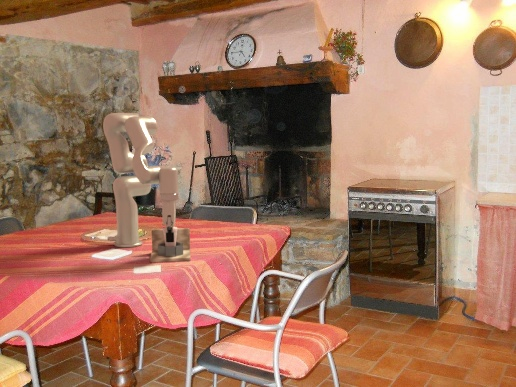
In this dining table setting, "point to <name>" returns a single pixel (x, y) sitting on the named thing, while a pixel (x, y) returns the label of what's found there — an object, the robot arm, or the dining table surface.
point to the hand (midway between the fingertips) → (170, 239)
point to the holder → (170, 253)
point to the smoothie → (169, 244)
